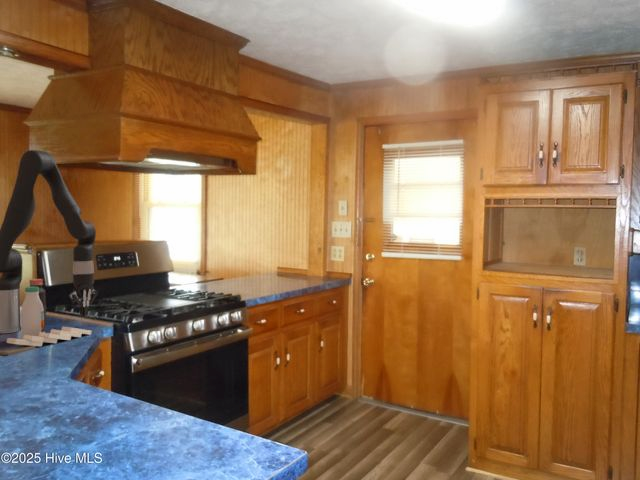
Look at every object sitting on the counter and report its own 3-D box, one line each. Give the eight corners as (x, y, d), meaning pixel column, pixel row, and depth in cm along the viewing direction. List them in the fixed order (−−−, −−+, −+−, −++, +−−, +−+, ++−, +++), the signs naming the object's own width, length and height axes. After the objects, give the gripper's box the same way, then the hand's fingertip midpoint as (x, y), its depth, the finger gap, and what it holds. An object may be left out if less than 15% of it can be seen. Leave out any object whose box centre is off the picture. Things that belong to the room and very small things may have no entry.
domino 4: (70, 340, 200) (48, 337, 192) (60, 339, 202) (38, 336, 194) (71, 336, 201) (49, 333, 192) (61, 334, 203) (39, 331, 194)
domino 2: (35, 350, 187) (8, 357, 178) (25, 349, 190) (-2, 355, 180) (35, 346, 187) (8, 352, 178) (25, 344, 189) (-2, 351, 180)
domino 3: (56, 343, 195) (31, 340, 187) (47, 342, 198) (22, 339, 189) (57, 338, 196) (32, 336, 187) (49, 337, 198) (23, 334, 189)
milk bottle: (37, 342, 197) (36, 288, 196) (16, 341, 198) (15, 288, 197) (48, 337, 205) (47, 285, 204) (28, 336, 205) (27, 285, 204)
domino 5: (80, 337, 205) (59, 334, 196) (71, 336, 207) (50, 333, 198) (81, 333, 206) (60, 330, 197) (72, 332, 208) (51, 329, 199)
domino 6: (90, 334, 210) (70, 331, 201) (81, 333, 212) (61, 330, 203) (91, 330, 210) (71, 327, 201) (82, 329, 212) (62, 326, 203)
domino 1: (41, 346, 190) (14, 344, 182) (33, 345, 193) (6, 342, 185) (42, 341, 191) (15, 339, 182) (34, 340, 193) (7, 338, 185)
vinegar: (29, 325, 225) (28, 278, 224) (47, 324, 227) (46, 278, 226) (26, 329, 219) (25, 280, 218) (44, 328, 221) (43, 280, 220)
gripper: (89, 270, 216) (90, 312, 217) (62, 273, 204) (62, 318, 205) (103, 271, 213) (104, 313, 214) (76, 274, 201) (77, 319, 202)
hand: (83, 315), depth 209 cm, fingers closed
